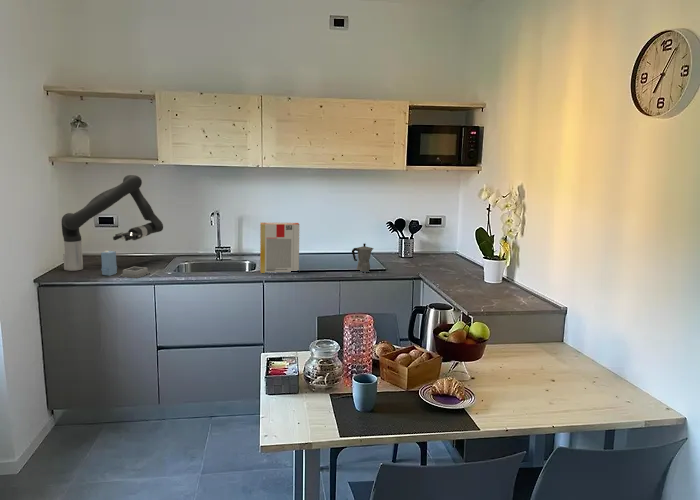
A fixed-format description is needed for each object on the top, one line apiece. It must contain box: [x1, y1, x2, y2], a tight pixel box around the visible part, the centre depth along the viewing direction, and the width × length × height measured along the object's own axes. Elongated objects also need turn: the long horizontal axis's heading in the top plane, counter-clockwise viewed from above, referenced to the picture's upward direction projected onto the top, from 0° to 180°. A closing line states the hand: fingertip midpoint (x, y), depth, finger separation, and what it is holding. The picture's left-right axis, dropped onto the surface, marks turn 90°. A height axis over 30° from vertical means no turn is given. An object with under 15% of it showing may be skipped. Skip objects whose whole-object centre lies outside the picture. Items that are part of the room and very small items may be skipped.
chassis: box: [120, 266, 151, 279], centre depth 311 cm, size 11×12×4 cm
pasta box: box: [259, 222, 300, 274], centre depth 328 cm, size 23×8×30 cm, turn 100°
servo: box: [100, 250, 118, 276], centre depth 311 cm, size 5×9×14 cm, turn 166°
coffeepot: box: [351, 242, 374, 271], centre depth 337 cm, size 15×9×18 cm, turn 119°
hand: (119, 238), depth 318 cm, fingers open, 8 cm apart
